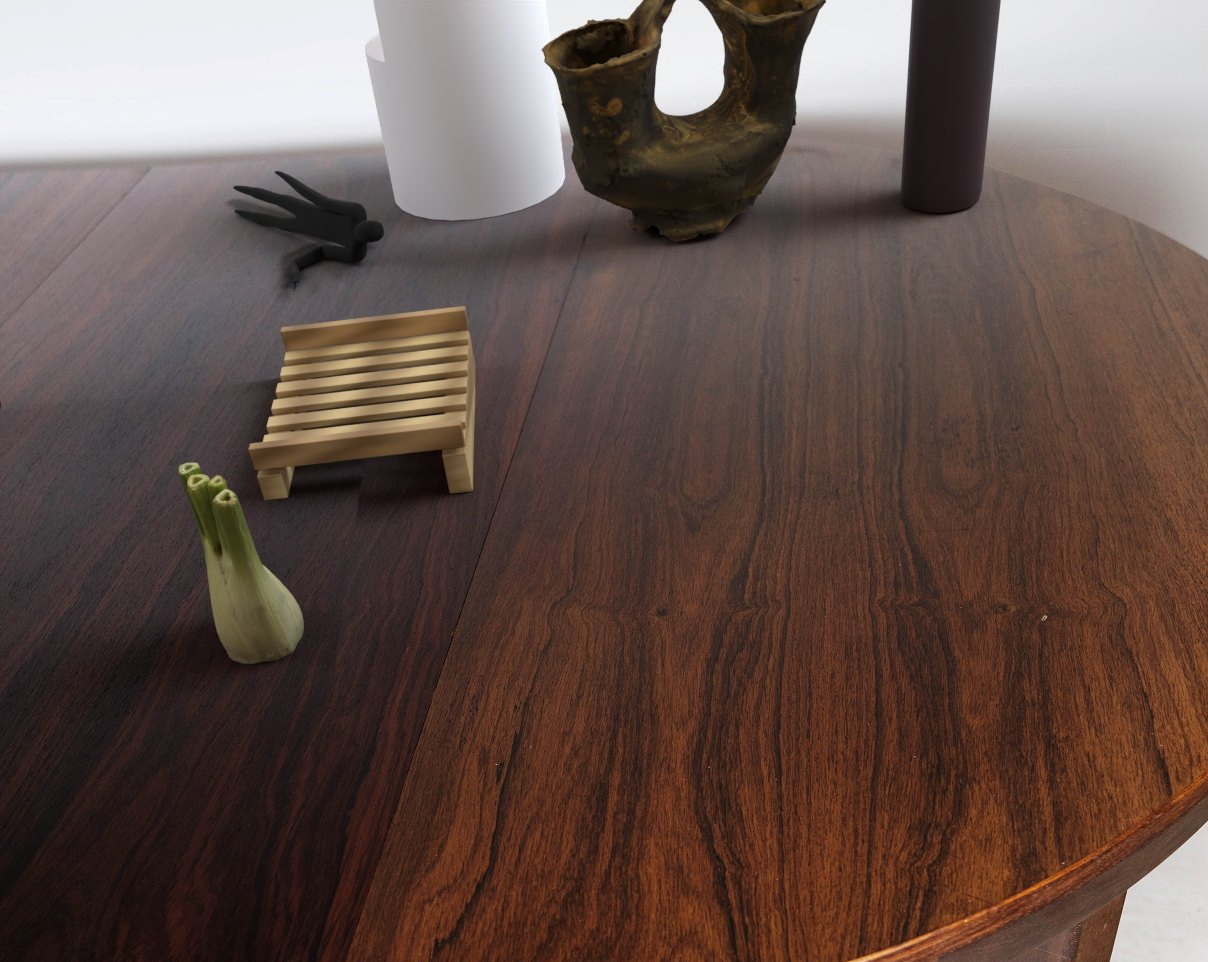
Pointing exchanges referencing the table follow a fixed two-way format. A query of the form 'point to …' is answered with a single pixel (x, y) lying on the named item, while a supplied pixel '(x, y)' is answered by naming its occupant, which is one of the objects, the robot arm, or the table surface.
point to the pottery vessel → (689, 142)
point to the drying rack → (372, 396)
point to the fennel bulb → (240, 576)
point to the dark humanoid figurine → (317, 223)
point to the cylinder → (466, 106)
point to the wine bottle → (948, 102)
